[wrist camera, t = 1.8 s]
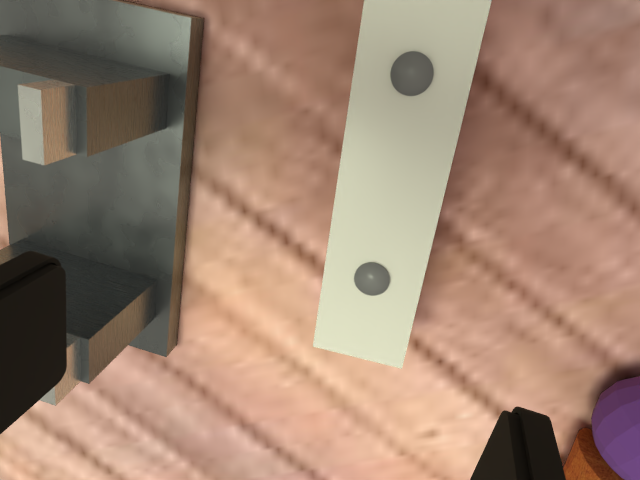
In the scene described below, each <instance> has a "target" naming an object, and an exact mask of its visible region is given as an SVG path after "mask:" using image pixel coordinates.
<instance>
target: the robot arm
mask: <svg viewBox="0 0 640 480" xmlns="http://www.w3.org/2000/svg"><path fill="white" fill-rule="evenodd" d="M66 368H67V335H66V273H65V270H64V269H63V268H62V267H61V263H60V262H59V260H58V259H56V258H54V257H50V256H47V255H44V254H41V253H38V252H35V251H28V252H25V253H23V254H21V255H19V256H17V257H15V258H13V259H11V260H9V261H7V262H5V263H3V264H1V265H0V434H1V433H2V432H3V431H5V430H6V429H7V428H8V427H9V426H10V425H11V424H13V423H14V422H15V421H16V420H17V419H18V418H19V417H20V416H22V415H23V414H24V413H25V412H26V411H27V410H28V409H30V408H31V407H32V406H33V405H34V404H35V403H36V402H37V401H39V400H40V399H41V398H42V397H43V396H44V395H45V394H47V393H48V392H49V391H50V390H51V389H52V388H53V387H55V386H56V385H57V384H58V383H59V382H60V381H61V379H62V378H63V376H64V374H65V372H66ZM470 480H566V478H565V474H564V470H563V466H562V462H561V459H560V455H559V451H558V447H557V443H556V439H555V435H554V431H553V428H552V424H551V421H550V418H549V417H548V416H546V415H543V414H540V413H537V412H534V411H530V410H527V409H524V408H521V407H515V408H514V409H513V411H512V413H511V412H508V411H503V412H502V413H501V415H500V417H499V419H498V421H497V423H496V425H495V427H494V430H493V432H492V434H491V436H490V438H489V440H488V442H487V445H486V447H485V449H484V451H483V453H482V455H481V458H480V460H479V462H478V464H477V466H476V468H475V470H474V473H473V475H472V477H471V479H470Z"/></svg>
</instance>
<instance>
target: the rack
mask: <svg viewBox="0 0 640 480" xmlns="http://www.w3.org/2000/svg"><path fill="white" fill-rule="evenodd" d="M203 24H204V18H200V17H196V16H191V15H187V14H182V13H178V12H173V11H169V10H164V9H160V8H155V7H151V6H146V5H142V4H137V3H133V2H128V1H124V0H0V136H1V148H2V160H3V172H4V184H5V196H6V208H7V220H8V232H9V244H10V245H9V246H7V247H5V248H3V249H1V250H0V265H1V264H3V263H5V262H7V261H9V260H11V259H13V258H15V257H17V256H19V255H21V254H23V253H25V252H28V251H35V252H38V253H41V254H44V255H47V256H50V257H54V258H56V259H58V260H59V262H60V263H61V267H62V268H63V269H64V270H65V273H66V335H67V368H66V372H65V374H64V376H63V378H62V379H61V381H60V382H59V383H58V384H57V385H56V386H55V387H53V388H52V389H51V390H50V391H49V392H48V393H47V394H45V395H44V396H43V397H42V398H41V399H40V400H41V401H43V402H46V403H49V404H52V405H55V406H56V405H57V404H58V403H59V402H60V401H61V400H62V399H63V398H64V397H65V396H66V395H67V394H68V393H69V392H70V391H71V390H72V389H73V388H74V387H75V386H76V385H77V384H79V383H80V382H81V381H82V382H85V383H88V384H89V383H90V382H91V381H92V380H93V379H94V378H95V377H96V376H97V375H98V374H99V373H100V372H101V371H102V370H103V369H104V368H105V367H106V366H107V365H108V364H109V363H110V362H111V361H112V360H113V359H114V358H115V357H116V356H117V355H118V354H119V353H120V352H121V351H122V350H123V349H124V348H125V347H126V346H127V345H130V346H133V347H136V348H139V349H142V350H146V351H149V352H152V353H155V354H158V355H161V356H164V357H167V356H168V355H169V353H170V352H171V351H172V350H173V349H174V348H175V346H176V345H177V335H178V324H179V312H180V300H181V288H182V276H183V264H184V252H185V240H186V228H187V216H188V204H189V192H190V180H191V168H192V156H193V144H194V132H195V120H196V108H197V96H198V84H199V72H200V60H201V48H202V36H203Z"/></svg>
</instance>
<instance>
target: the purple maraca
mask: <svg viewBox="0 0 640 480" xmlns="http://www.w3.org/2000/svg"><path fill="white" fill-rule="evenodd" d="M591 419H592V430H591V429H588V428H584V429H581V430H579V432H578V434H577V437H576V439H575V441H574V444H573V446H572V449H571V451H570V453H569V456H568V458H567V461H566V463H565V465H564V468H563V470H564V474H565V478H566V480H640V376H639V377H634V378H629V379H624V380H621V381H617V382H616V383H615V384H613V385H612V386H610V387H609V388H608V389H606V390H605V391H604V392H602V393H601V395H600V397H599V399H598V402H597V404H596V406H595V408H594V410H593V414H592V418H591Z"/></svg>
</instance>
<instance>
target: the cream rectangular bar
mask: <svg viewBox="0 0 640 480" xmlns="http://www.w3.org/2000/svg"><path fill="white" fill-rule="evenodd" d="M491 1H492V0H364V5H363V12H362V18H361V25H360V32H359V39H358V45H357V52H356V59H355V66H354V72H353V79H352V86H351V93H350V99H349V106H348V113H347V120H346V126H345V133H344V140H343V147H342V153H341V160H340V167H339V174H338V180H337V187H336V194H335V201H334V207H333V214H332V221H331V228H330V234H329V241H328V248H327V254H326V261H325V268H324V275H323V281H322V288H321V295H320V302H319V308H318V315H317V322H316V329H315V335H314V342H313V347H317V348H321V349H325V350H329V351H333V352H337V353H341V354H345V355H349V356H353V357H357V358H361V359H365V360H369V361H373V362H377V363H381V364H385V365H389V366H393V367H397V368H401V369H402V366H403V362H404V358H405V354H406V350H407V346H408V341H409V337H410V333H411V329H412V325H413V321H414V317H415V313H416V309H417V305H418V301H419V296H420V292H421V288H422V284H423V280H424V276H425V272H426V268H427V264H428V260H429V255H430V251H431V247H432V243H433V239H434V235H435V231H436V227H437V223H438V219H439V214H440V210H441V206H442V202H443V198H444V194H445V190H446V186H447V182H448V178H449V173H450V169H451V165H452V161H453V157H454V153H455V149H456V145H457V141H458V137H459V133H460V128H461V124H462V120H463V116H464V112H465V108H466V104H467V100H468V96H469V92H470V87H471V83H472V79H473V75H474V71H475V67H476V63H477V59H478V55H479V51H480V46H481V42H482V38H483V34H484V30H485V26H486V22H487V18H488V14H489V10H490V5H491Z"/></svg>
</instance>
